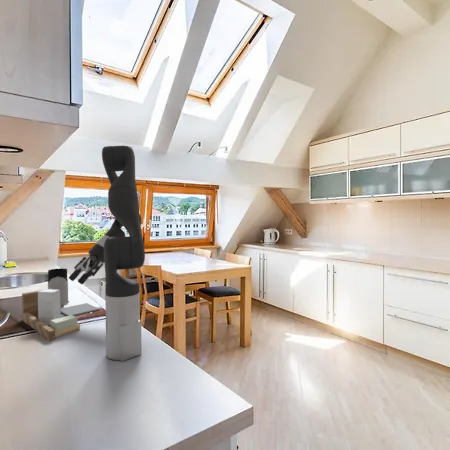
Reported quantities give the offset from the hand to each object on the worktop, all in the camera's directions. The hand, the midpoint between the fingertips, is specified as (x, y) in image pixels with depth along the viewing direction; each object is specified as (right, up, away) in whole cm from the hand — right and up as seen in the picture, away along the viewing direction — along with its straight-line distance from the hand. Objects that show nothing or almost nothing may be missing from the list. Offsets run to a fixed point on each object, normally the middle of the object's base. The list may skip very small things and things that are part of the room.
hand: (75, 281), depth 120 cm
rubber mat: (-3, -14, +9) cm, 17 cm away
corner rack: (-4, -14, -9) cm, 17 cm away
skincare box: (-6, -14, -6) cm, 17 cm away
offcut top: (+3, -12, -15) cm, 19 cm away
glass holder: (-18, -13, +21) cm, 31 cm away
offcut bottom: (+3, -15, -14) cm, 21 cm away
